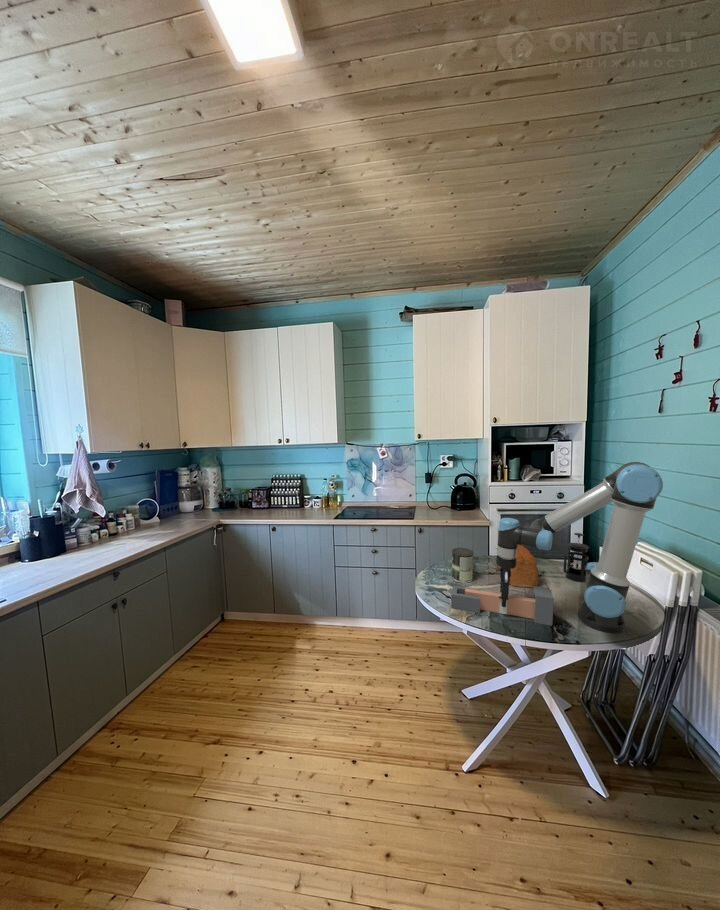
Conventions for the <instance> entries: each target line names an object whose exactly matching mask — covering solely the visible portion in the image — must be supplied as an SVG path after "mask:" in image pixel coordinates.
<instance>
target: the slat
mask: <svg viewBox="0 0 720 910" xmlns="http://www.w3.org/2000/svg"><path fill="white" fill-rule="evenodd" d="M467 588H468V587H467ZM467 588H465V595H471V596H477V597H480V611H487V612H492V613H499V611H500V598H499V596H501V594H500V593H501V592H500V593H499V592H494V591H493V592H492V591H485V590H481V589H480V590H481V591H480V590H474V589H475V588H474V589H467ZM499 614H500V613H499ZM506 615H510V616H515V617H521V618H527V619H534V617H535V599H533V597H532V598H531V597H526V596H525V597H524V596H518V595H513V594H512V595H510V594H508V602H507V614H506Z"/></svg>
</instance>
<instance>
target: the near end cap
mask: <svg viewBox="0 0 720 910" xmlns="http://www.w3.org/2000/svg"><path fill="white" fill-rule="evenodd" d="M532 599H535V617H534V623H535V624H541V625H544V626H545V625H547V626H550V627H551V626H553V621H554V620H553V619H554V618H553V617H554V616H553V615H554V602H555V601H554V596H553V593H552V591H551V589H550V587H543V586H538V585H537V586H533V588H532Z"/></svg>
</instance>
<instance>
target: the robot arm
mask: <svg viewBox="0 0 720 910" xmlns="http://www.w3.org/2000/svg"><path fill="white" fill-rule="evenodd" d="M663 486H664V482H663V479H662V476H661V475H660V473H659V472H658V471H657V470H655V469H654V468H653V467H651V466H650V465H649V464H647V463H645V462H639V461H632V462H627V463H625V464H623V465H622V466H620V467H619V468H617V469H616V470H615V471H613V472H612V473H610V474H609V475H607V476H605V477H604V478H603V481H602V482H601V483H599V484H597V485H596V486H593V488H591V489H588V490H587V491H585V492H584V493H582V494H580V495H579V496H577V497H575V498H573V499H571V500H570V501H568V502H566V503H564V504H563V505H562V506H561V505H560V507H558V508H557V509H555V510H553V511H551V512H549V513H547V514H545V515H544V516H543V517H540V518H538V519H535V520H534V521H532V522H531V523H530V526H529V527H527V526H522V525H521V524H520V521H519V520H518V519H516V518H513V517H502V518H501V519H500V520H499V523H498V529H497V531H498V532H497V546H495V549H496V554H497V555H496V562H495V563H496V566H497V565H498V566H500V567H501V568H500V569H499V572H500V573H499V574H500V576H499V577H500V586H499V588H500V591H499V592H500V594H501V596H499V598H500V611H499V614H503V615H508V614H507V602H508V595H510V594H509V592H510V584H509V583H510V576H511V569H513V568H515V567H516V560H517V559H516V557H517V545H522V546H524V547H526V548H527V547H528V548H533V549H536V550H537V549H538V550H539V551H540V550H541V551H551V549H552V545H553V535H554V534H556V533H557V532H560V531H561V530H563V529H564V528H566V527H569V526H570V525H572V524H573V523H576V522H577V521H579V520H581V519H583V518H585V517H587V516H589V515H590V514H592V513H595V512H596V511H598V510H600V509H602V508H603V507H606V506H608V505H609V504H611V503H614V505H613V510H612V513H611V517H610V520H609V524H608V528H607V531H606V533H605V534H606V535H605V538H604V541H603V545H602V549H601V551H600V556H599V559H598V562H597V561H593V562H592V561H591V562H587V567H586V582H584V583H585V585H584V593H583V597H584V598H583V601H582V603H581V605H580V607H579V609H578V619H579V621H580V622H582V623H583V624H584V625H586V626H588V627H590V628H592V629H594V630H596V631H597V630H598V631H600V632H605V633H611V634H612V633H614V634H617V633H616V632H619V633H622V632H624V631H625V630H624V629H626V621H625V617H624V614H623V613H625V610H626V608H627V605H626V604H627V602H626V599H627V596H628V591H629V588H630V586H631V583H630V582H631V581H630V580H629V579H628V578H627V576H628V573H629V568H630V567H631V566H630V565H631V563H632V559H633V557H634V556H633V555H634V553H635V549H636V546H637V543H638V540H639V536H640V533H641V530H642V529H641V528H642V526H643V524H644V523H643V522H644V519H645V516H646V513H648V512H650V511H652V510H654V507H655V504H656V501H657V498H658V497H659V496H660V494H661V493H662V491H663V488H664V487H663ZM498 566H497V567H498ZM623 630H624V631H623ZM621 631H622V632H621Z"/></svg>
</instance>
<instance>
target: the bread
mask: <svg viewBox="0 0 720 910" xmlns="http://www.w3.org/2000/svg"><path fill="white" fill-rule="evenodd" d="M516 559H517V560H516V567H515V568H513V569H511V576H510V583H509V586H512V587H517V588H532V589H533V586H538V584H539V568H538V565H537V564H538V563H537V562H538V561H537V560H536V558H535V556H533V554H531V551H529V550H528V548H527V547H526V546H522V545H517V557H516ZM496 566H497V568H498V569H499V570H500V568H501V567H500V566H498V565H497V564H496Z"/></svg>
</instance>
